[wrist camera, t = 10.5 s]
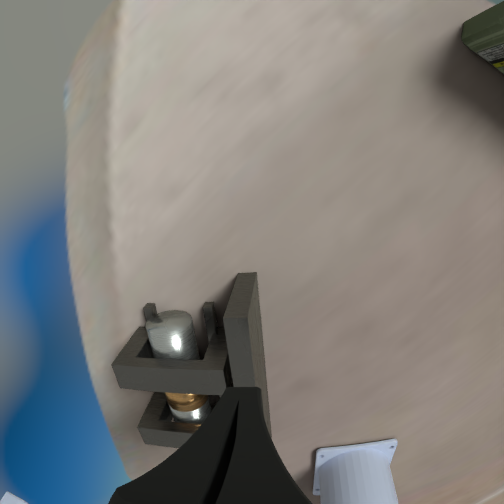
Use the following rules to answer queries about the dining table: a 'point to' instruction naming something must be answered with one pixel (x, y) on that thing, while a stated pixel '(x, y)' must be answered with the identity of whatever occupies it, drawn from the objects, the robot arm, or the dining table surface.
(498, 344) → the dining table surface
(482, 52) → the handheld radio
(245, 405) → the robot arm
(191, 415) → the tube
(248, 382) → the collar fixture
